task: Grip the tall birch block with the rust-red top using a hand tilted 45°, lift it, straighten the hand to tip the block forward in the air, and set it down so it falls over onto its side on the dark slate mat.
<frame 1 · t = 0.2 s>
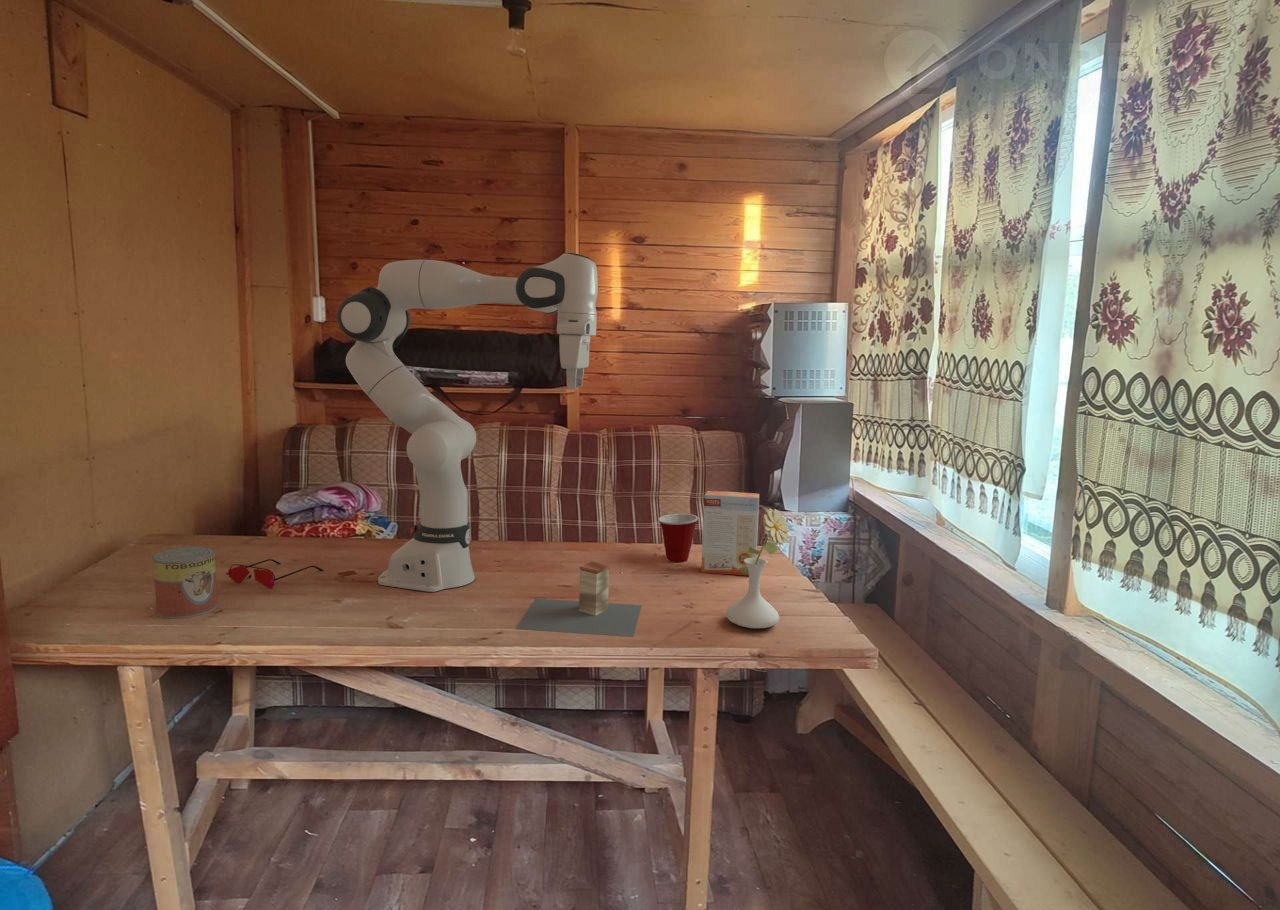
hand: (574, 388, 173), 48 cm above the table, tool pointing down, fingers open, 8 cm apart
plastic cup: (676, 560, 206), on the table
birch block: (593, 610, 164), point 1 cm above the table, touching slate mat
flower in vase: (755, 623, 162), on the table
canned food: (187, 609, 160), on the table
cracker box: (728, 572, 197), on the table
glasses: (276, 578, 182), on the table
slate mat: (581, 619, 161), on the table
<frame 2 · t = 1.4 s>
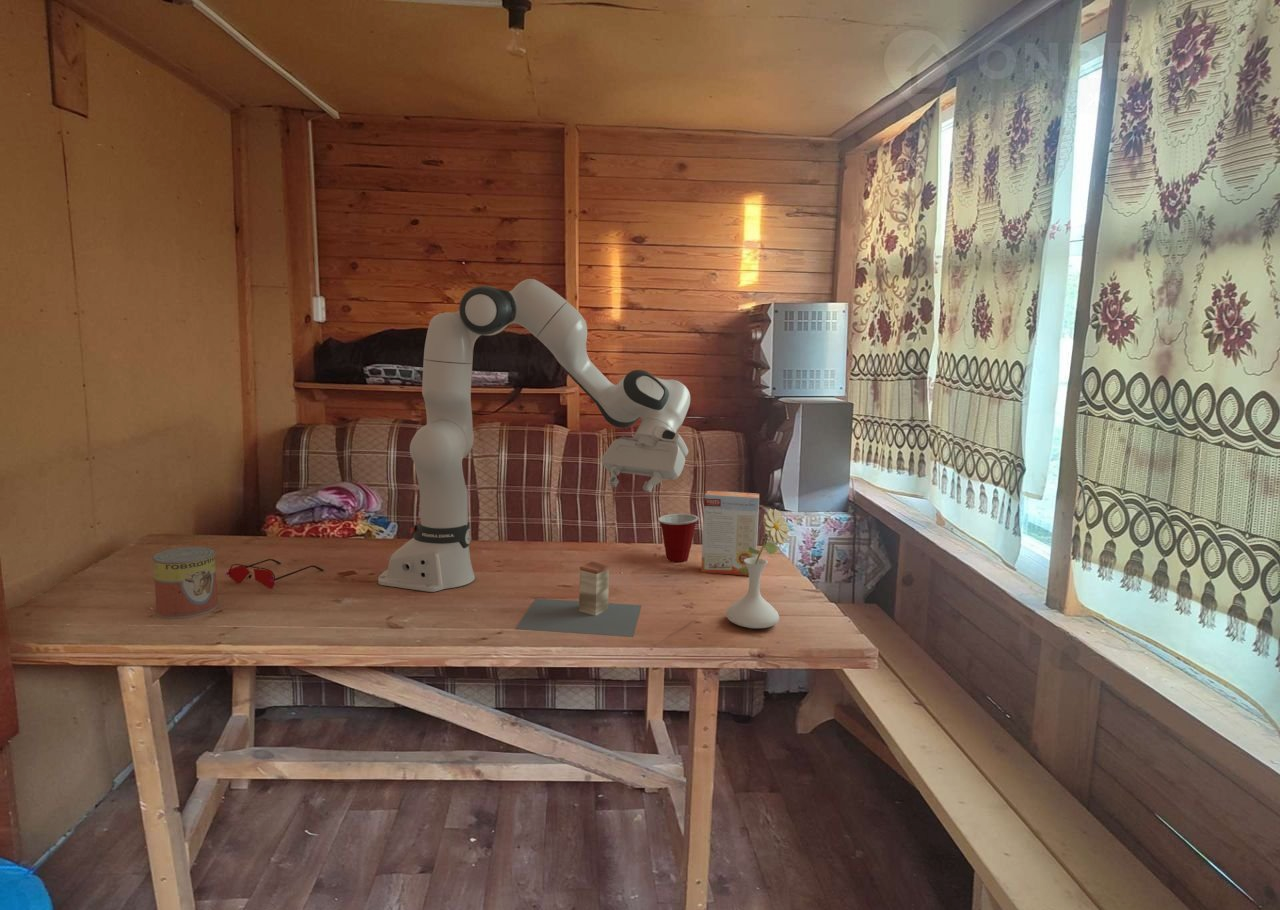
hand: (628, 487, 170), 26 cm above the table, tool tilted 45°, fingers open, 8 cm apart
nothing on the table moved.
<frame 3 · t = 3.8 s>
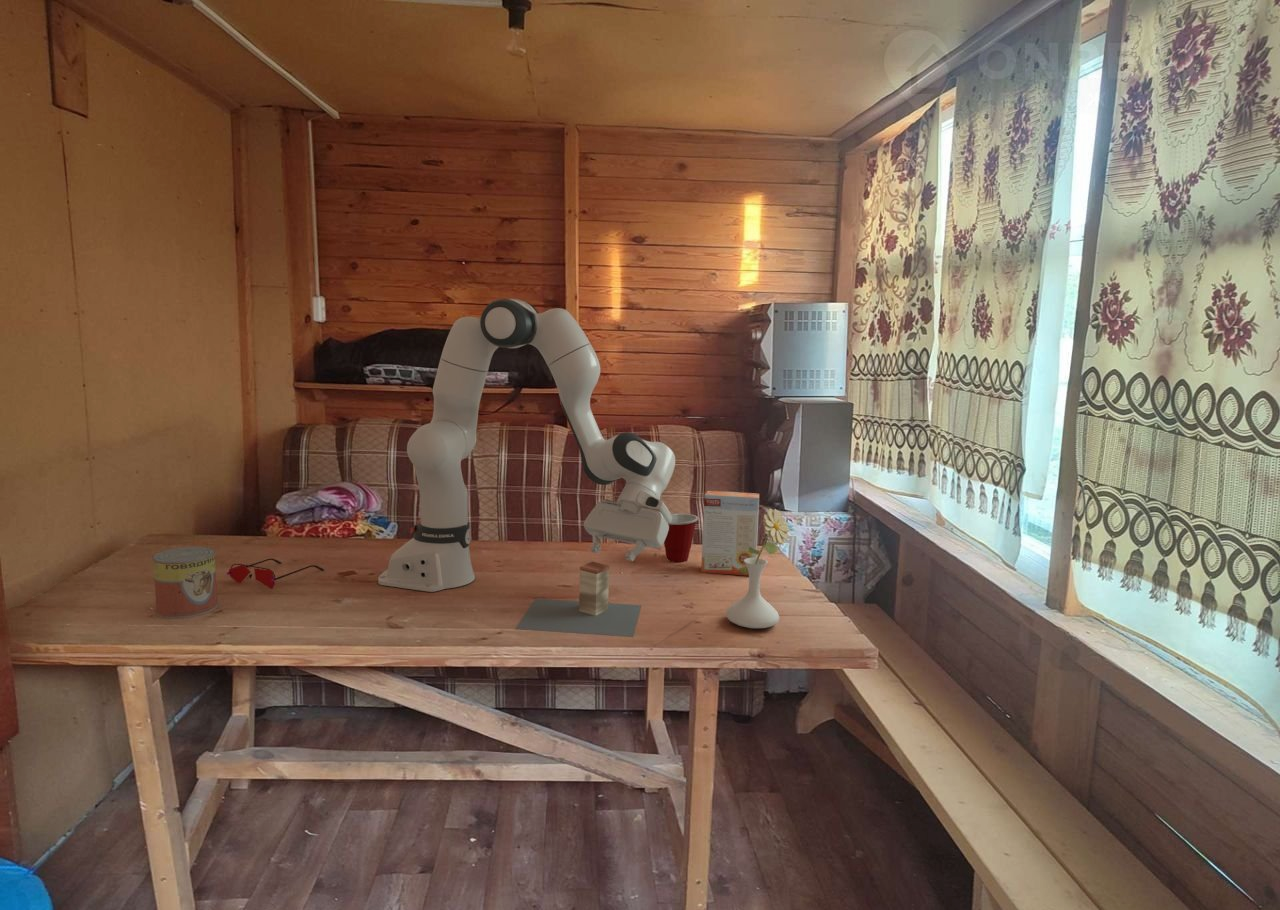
hand: (610, 555, 167), 12 cm above the table, tool tilted 45°, fingers open, 8 cm apart
nothing on the table moved.
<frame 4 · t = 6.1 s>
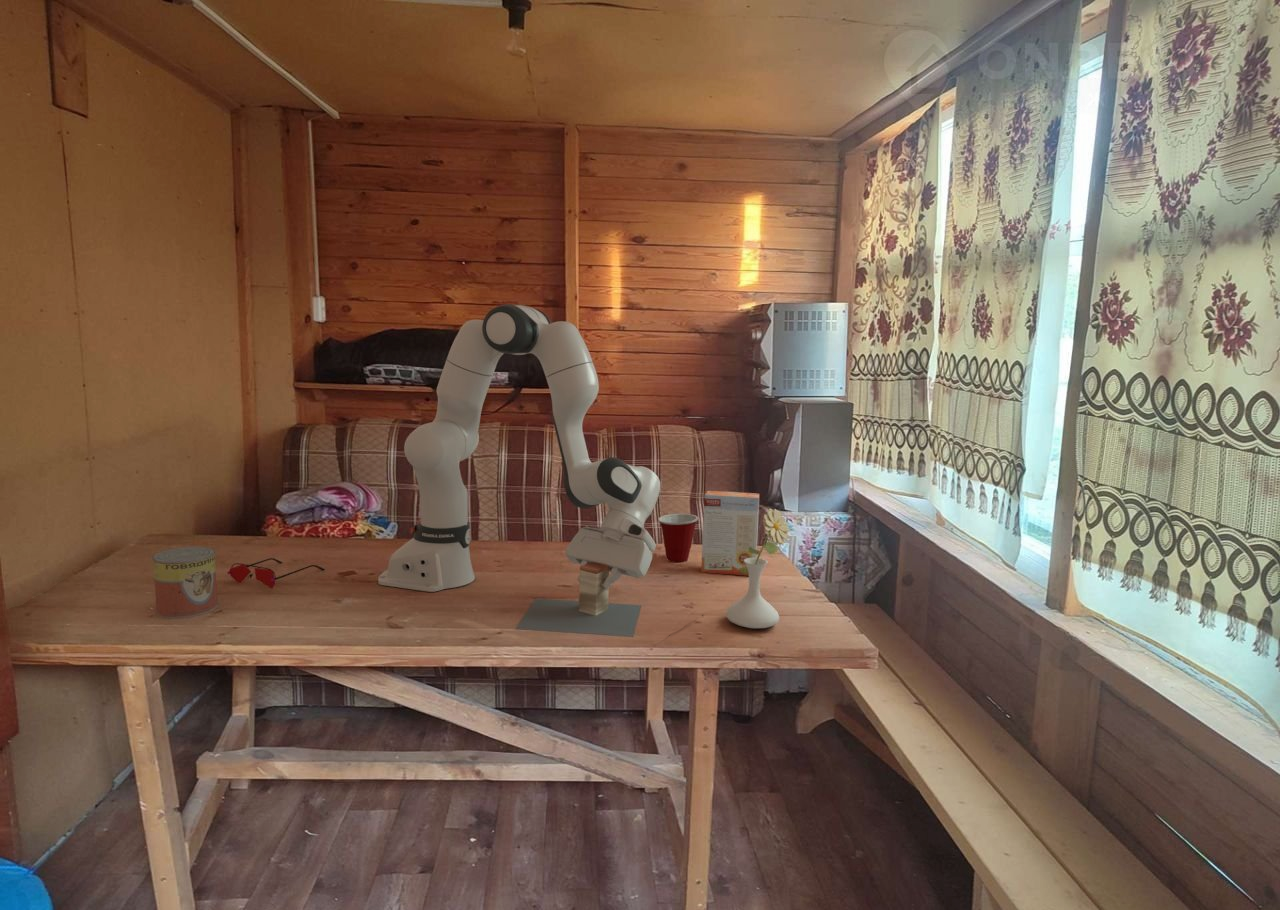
hand: (592, 585, 163), 7 cm above the table, tool tilted 45°, fingers closed on birch block, 4 cm apart
birch block: (593, 610, 164), point 1 cm above the table, touching gripper, slate mat
everything else where it was.
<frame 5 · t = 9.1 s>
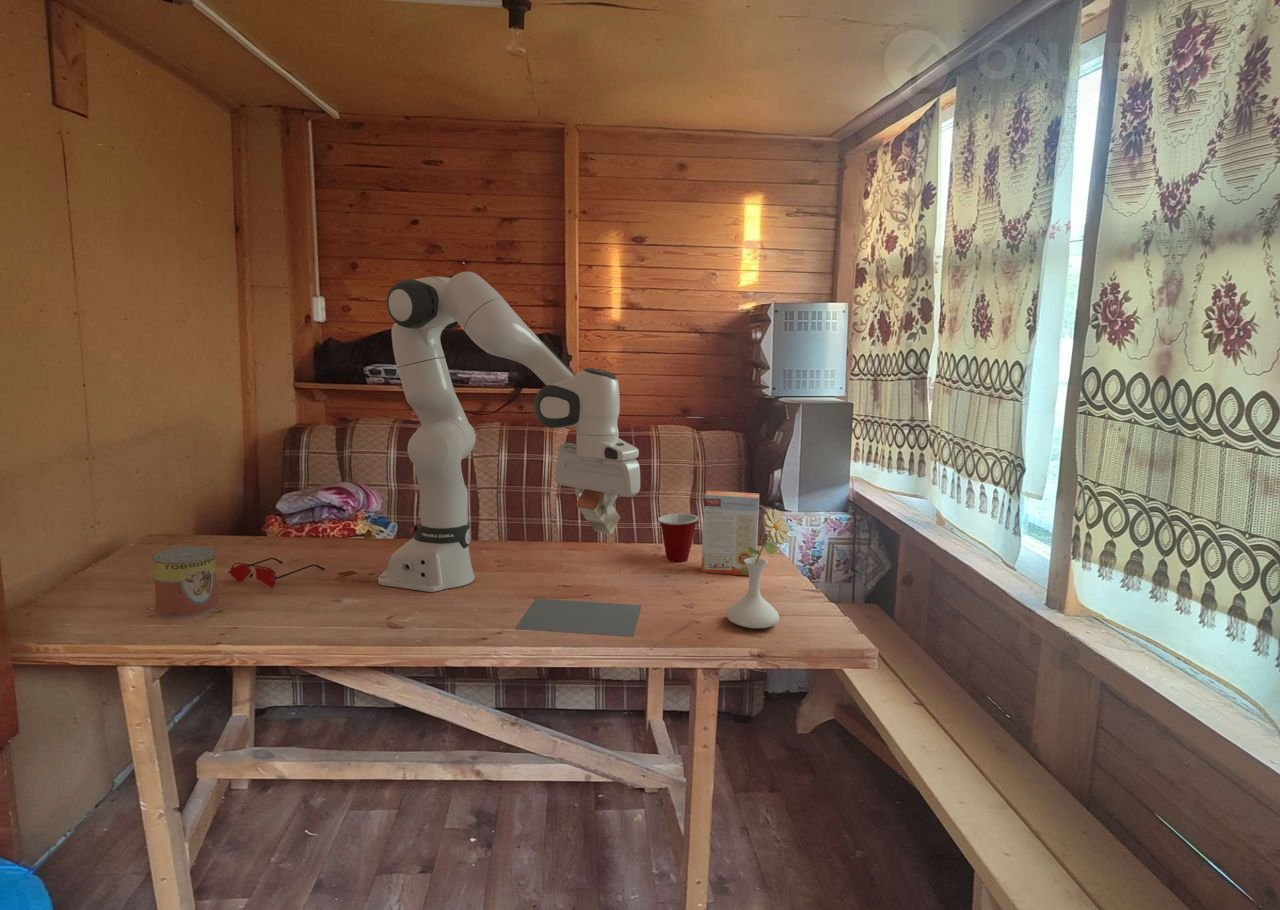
hand: (595, 511, 161), 23 cm above the table, tool pointing down, fingers closed on birch block, 4 cm apart
birch block: (607, 524, 165), point 19 cm above the table, tilted 45°, touching gripper
when the fingers open (8 cm above the table, at t = 12.9 s): birch block moves 2 cm and tips over, resting on slate mat.
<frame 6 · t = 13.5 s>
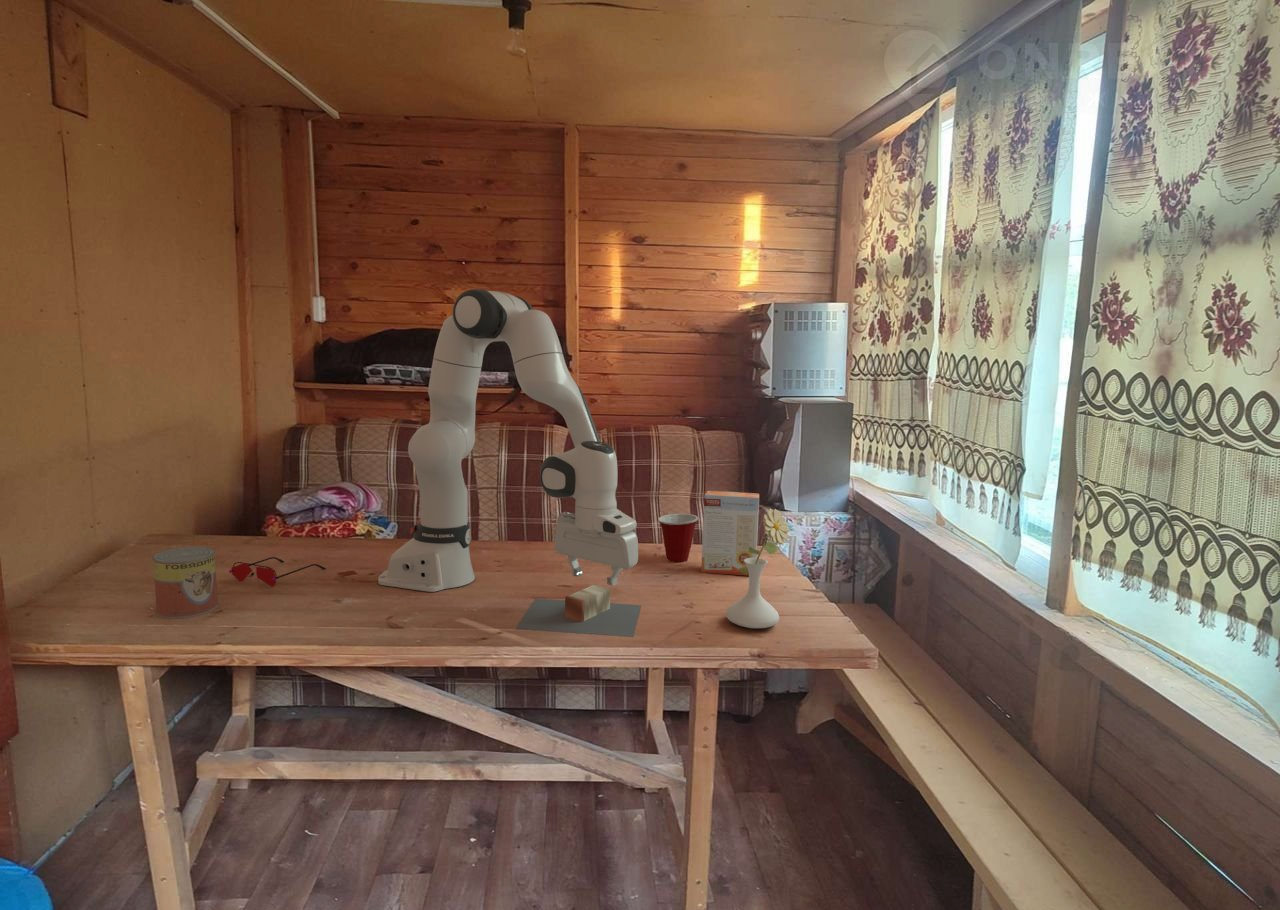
hand: (594, 580, 163), 8 cm above the table, tool pointing down, fingers open, 8 cm apart
birch block: (601, 596, 166), point 3 cm above the table, tilted 90°, touching slate mat
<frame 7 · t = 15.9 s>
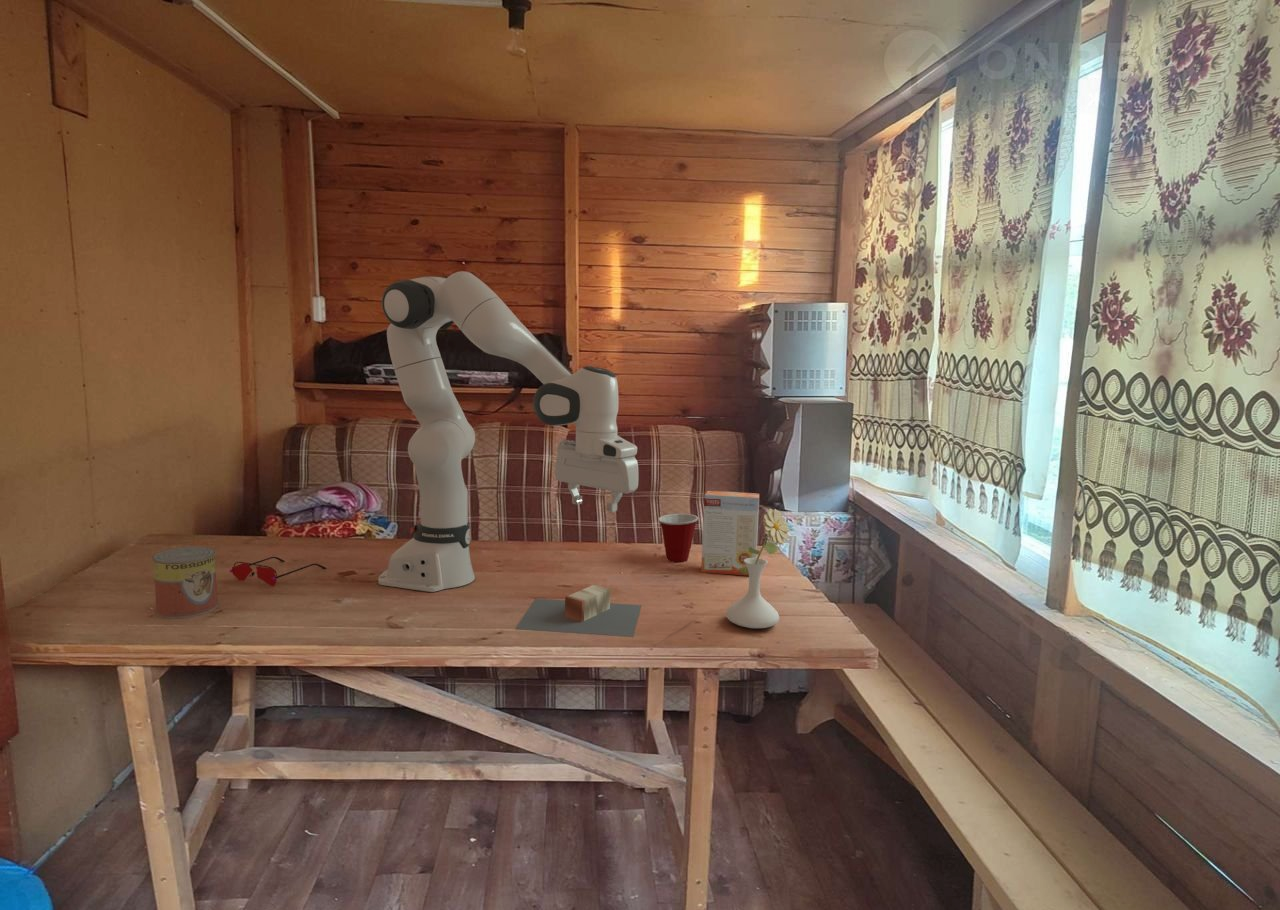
hand: (594, 507, 163), 23 cm above the table, tool pointing down, fingers open, 8 cm apart
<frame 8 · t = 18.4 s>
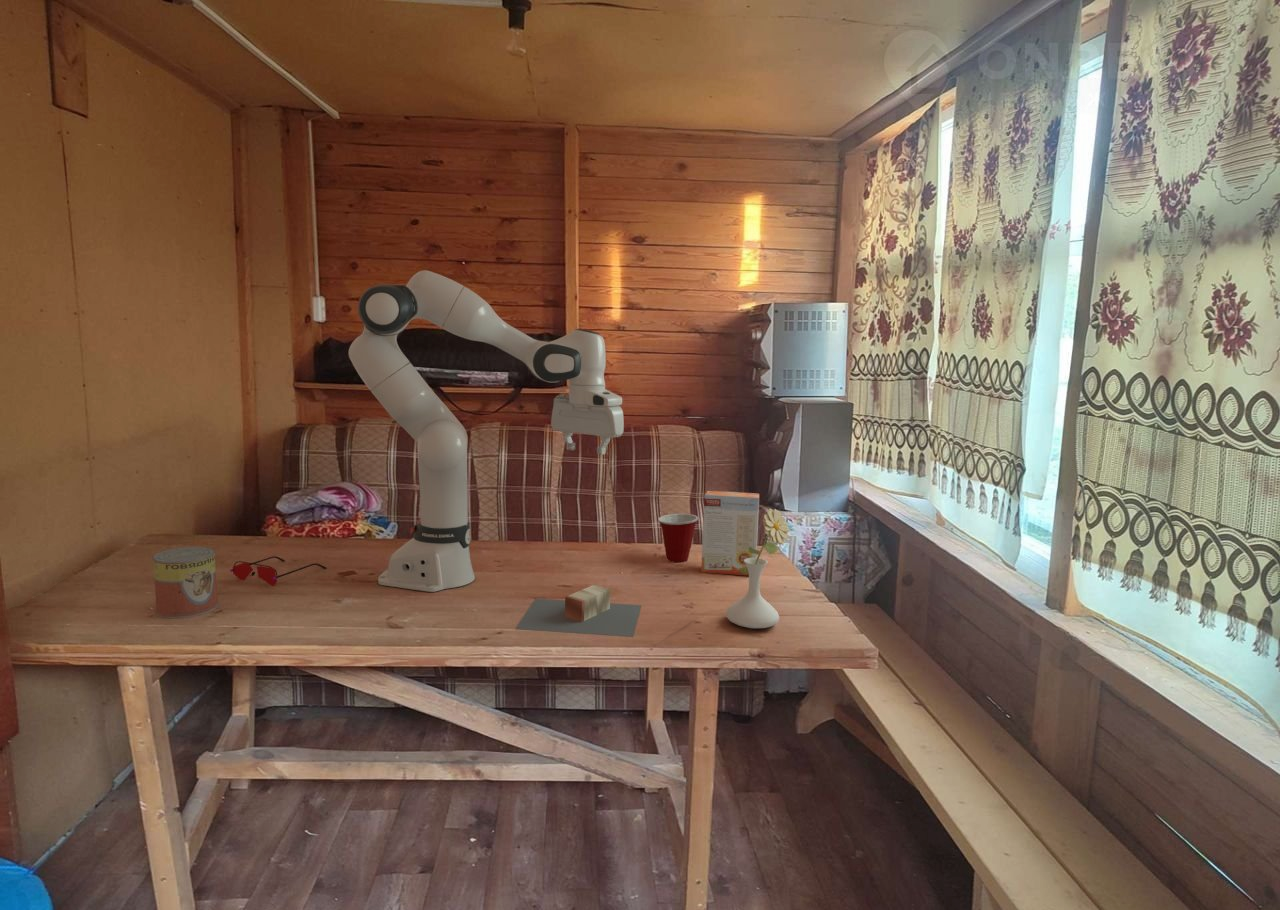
hand: (585, 452, 188), 31 cm above the table, tool pointing down, fingers open, 8 cm apart
at the end: birch block tilted 90°; birch block inside the target area on the slate mat (7.5 cm from its centre), point 3.0 cm above the slate mat's base; the gripper is holding nothing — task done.
